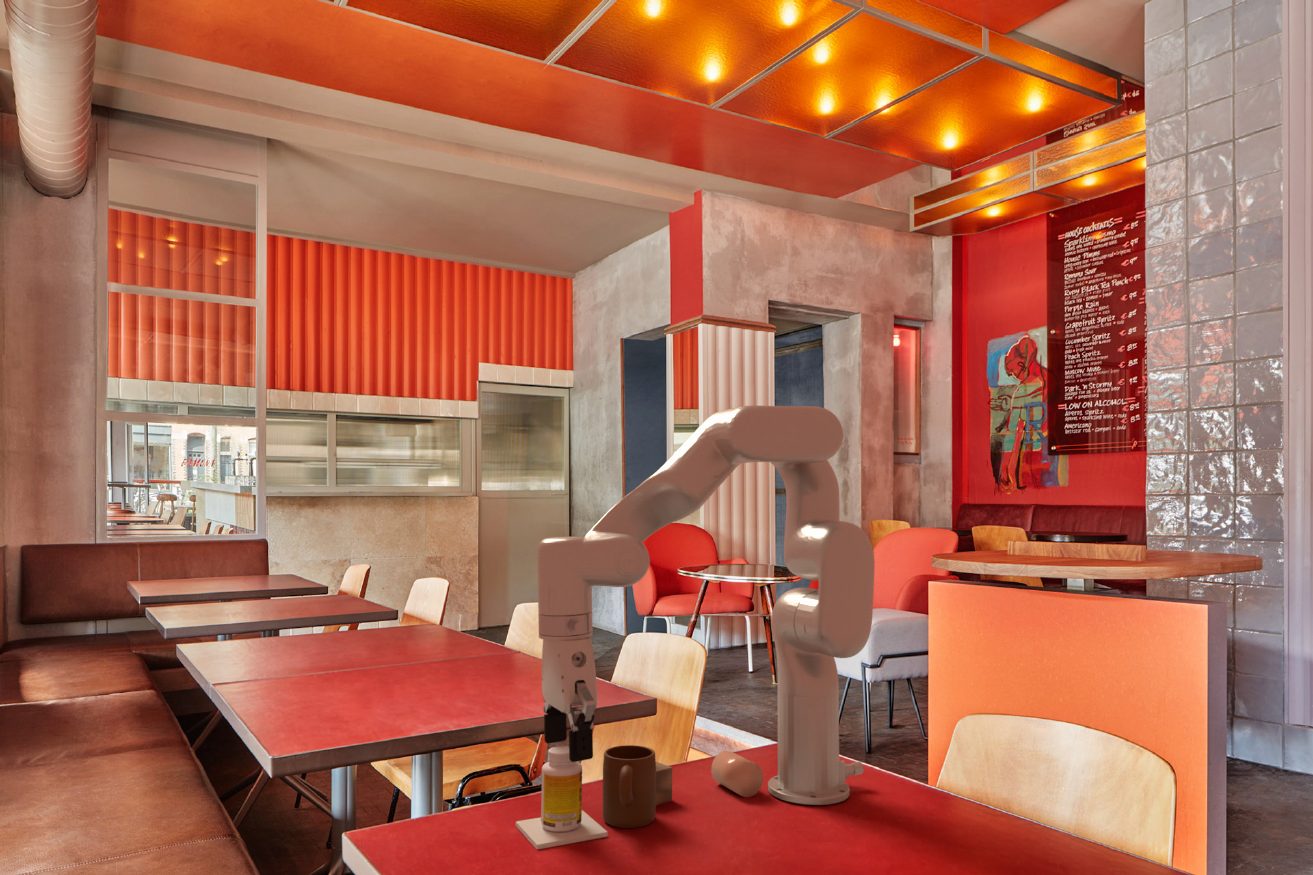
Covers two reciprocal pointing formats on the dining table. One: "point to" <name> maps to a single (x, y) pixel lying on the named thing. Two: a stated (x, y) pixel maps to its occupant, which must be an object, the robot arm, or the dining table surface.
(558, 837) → the coaster
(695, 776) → the dining table surface
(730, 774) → the capsule
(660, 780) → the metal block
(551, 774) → the supplement bottle
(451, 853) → the dining table surface
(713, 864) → the dining table surface
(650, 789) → the mug
